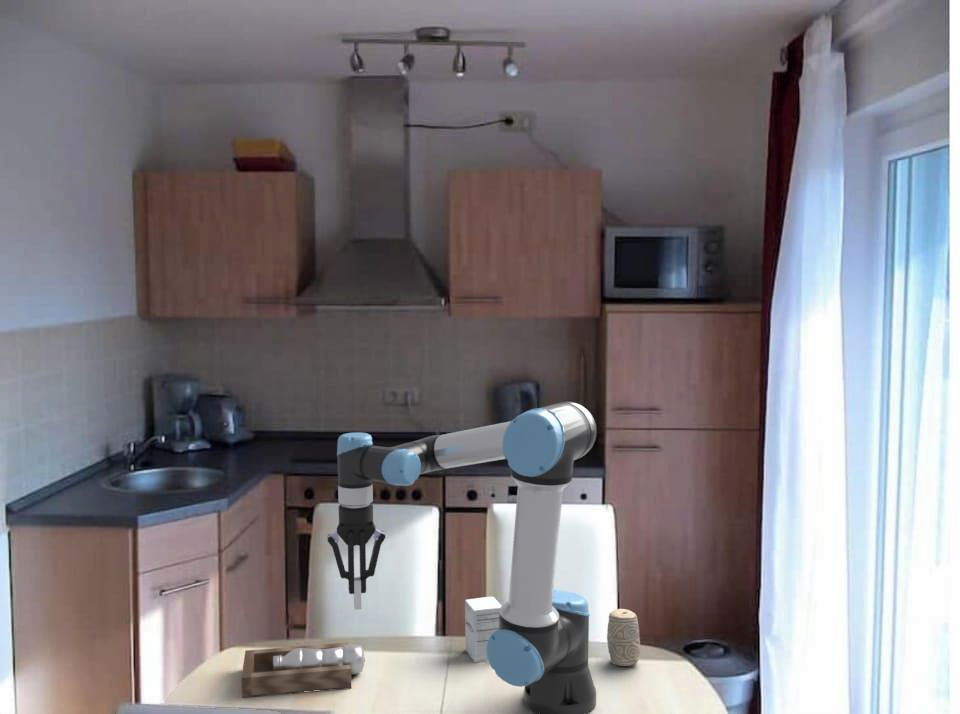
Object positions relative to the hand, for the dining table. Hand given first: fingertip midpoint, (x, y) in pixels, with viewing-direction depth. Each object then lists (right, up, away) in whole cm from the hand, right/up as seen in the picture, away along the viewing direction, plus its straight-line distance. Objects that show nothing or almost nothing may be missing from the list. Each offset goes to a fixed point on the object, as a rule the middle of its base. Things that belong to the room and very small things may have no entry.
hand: (357, 607), depth 209 cm
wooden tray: (-13, -16, -1) cm, 20 cm away
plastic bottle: (+2, -12, +1) cm, 12 cm away
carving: (+60, -15, +6) cm, 62 cm away
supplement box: (+28, -14, +11) cm, 34 cm away
